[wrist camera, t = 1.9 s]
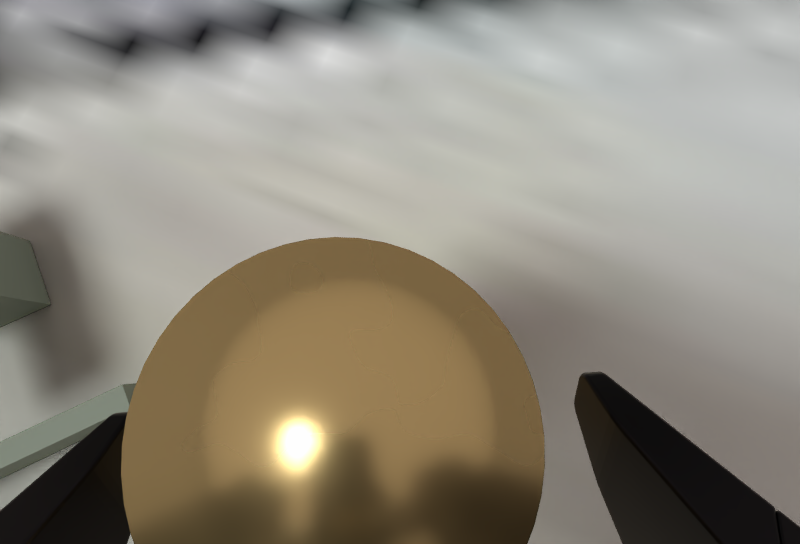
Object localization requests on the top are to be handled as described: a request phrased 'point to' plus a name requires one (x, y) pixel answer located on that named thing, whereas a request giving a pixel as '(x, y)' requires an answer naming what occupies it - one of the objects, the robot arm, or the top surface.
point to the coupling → (334, 409)
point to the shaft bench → (15, 298)
